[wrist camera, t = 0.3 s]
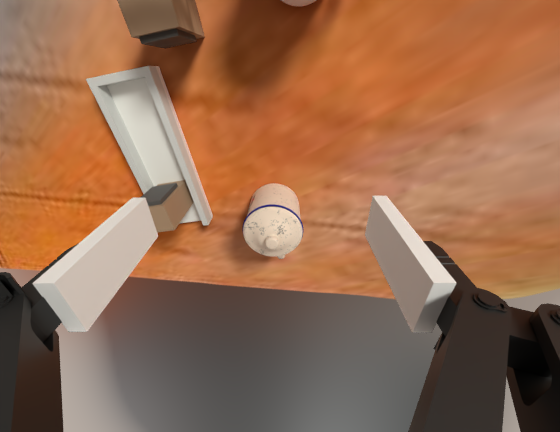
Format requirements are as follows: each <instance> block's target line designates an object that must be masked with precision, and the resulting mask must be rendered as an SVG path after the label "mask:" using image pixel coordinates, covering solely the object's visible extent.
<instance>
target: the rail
mask: <svg viewBox="0 0 560 432" xmlns="http://www.w3.org/2000/svg"><path fill="white" fill-rule="evenodd" d="M86 80H87V82H88V84H89V86H90V88H91V90H92V92H93V94H94V96H95V98H96V100H97V102H98V104H99V106H100V108H101V110H102V112H103V114H104V116H105V118H106V120H107V122H108V124H109V126H110V128H111V130H112V132H113V134H114V136H115V138H116V140H117V142H118V144H119V146H120V148H121V150H122V152H123V154H124V156H125V158H126V160H127V162H128V164H129V166H130V168H131V170H132V172H133V174H134V176H135V178H136V180H137V182H138V184H139V186H140V188H141V190H142V192H143V194H144V195H143V196H141V197H140V198H146V201H147V204H148V207H149V210H150V213H151V216H152V219H153V222H154V225H155V228H156V231H157V232H164V231H171V230H175V229H176V228H177V226H178V225H179V224H180V223H186V222H193V221H200V220H201V221H202V224H203V226H204V225H209V223H210V221H211V219H212V217H213V215H212V212H211V209H210V206H209V204H208V201H207V198H206V195H205V192H204V190H203V187H202V184H201V181H200V179H199V176H198V173H197V170H196V168H195V165H194V162H193V159H192V157H191V154H190V151H189V148H188V145H187V143H186V140H185V137H184V134H183V132H182V129H181V126H180V123H179V121H178V118H177V115H176V112H175V110H174V107H173V104H172V101H171V98H170V96H169V93H168V90H167V87H166V85H165V82H164V79H163V76H162V74H161V71H160V68H159V66H145V67H140V68H135V69H131V70H126V71H121V72H117V73H112V74H107V75H103V76H98V77H93V78H88V79H86Z"/></svg>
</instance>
